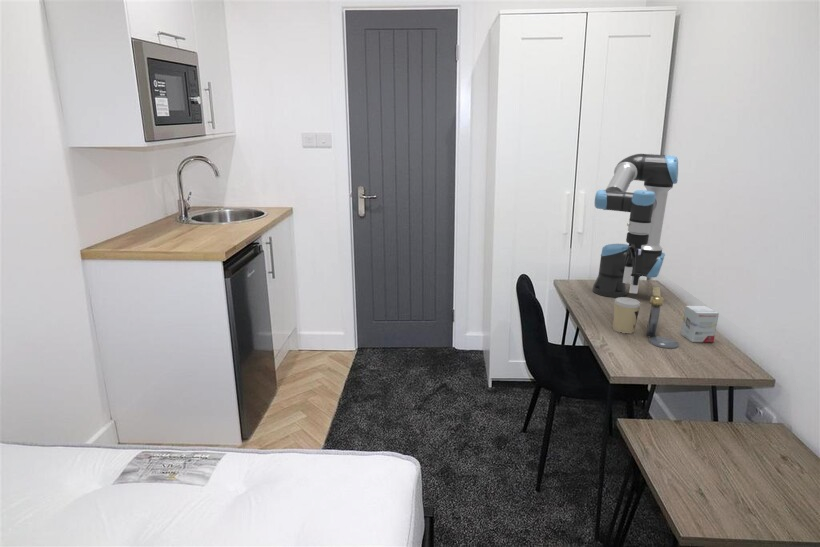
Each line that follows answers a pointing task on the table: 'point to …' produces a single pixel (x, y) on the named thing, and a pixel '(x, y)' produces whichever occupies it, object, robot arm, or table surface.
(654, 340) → the disc
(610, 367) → the table surface
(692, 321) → the ink box
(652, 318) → the post
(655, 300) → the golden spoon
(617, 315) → the coffee cup
